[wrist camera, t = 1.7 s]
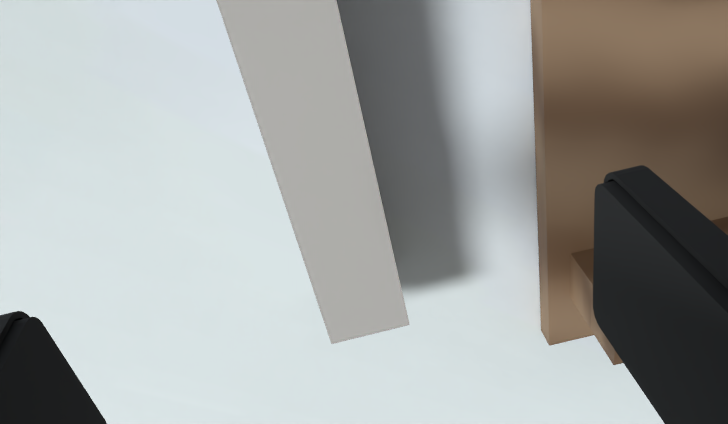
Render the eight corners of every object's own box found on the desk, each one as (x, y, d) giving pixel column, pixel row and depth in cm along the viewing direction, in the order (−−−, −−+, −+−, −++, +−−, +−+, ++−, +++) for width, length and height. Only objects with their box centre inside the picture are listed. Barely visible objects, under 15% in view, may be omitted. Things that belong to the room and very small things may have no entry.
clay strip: (129, -334, 15) (88, -380, 11) (248, -363, 15) (241, -419, 11) (323, 276, 26) (331, 343, 22) (391, 260, 26) (409, 324, 22)
